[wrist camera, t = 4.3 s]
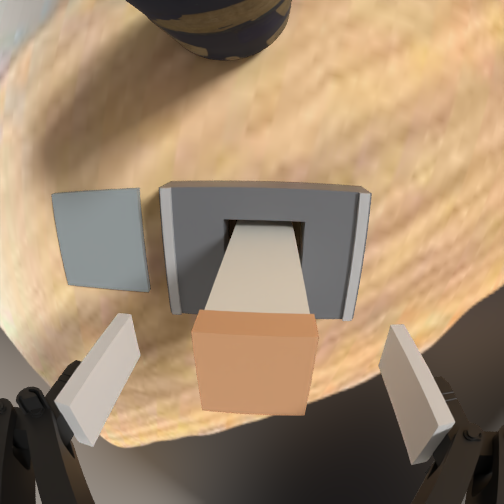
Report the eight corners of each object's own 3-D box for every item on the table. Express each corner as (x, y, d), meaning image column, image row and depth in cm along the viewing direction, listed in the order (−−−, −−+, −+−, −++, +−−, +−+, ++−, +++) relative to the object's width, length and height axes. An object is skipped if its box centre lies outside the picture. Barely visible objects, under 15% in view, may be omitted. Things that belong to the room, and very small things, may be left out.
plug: (236, 268, 28) (202, 410, 13) (236, 217, 26) (191, 331, 11) (290, 270, 28) (304, 415, 13) (293, 218, 26) (318, 337, 11)
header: (179, 295, 29) (170, 314, 26) (170, 181, 25) (157, 188, 22) (346, 301, 29) (353, 320, 26) (361, 186, 24) (372, 194, 21)
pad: (71, 282, 30) (68, 284, 29) (54, 193, 26) (51, 194, 26) (150, 289, 29) (148, 292, 29) (139, 187, 26) (136, 189, 25)
